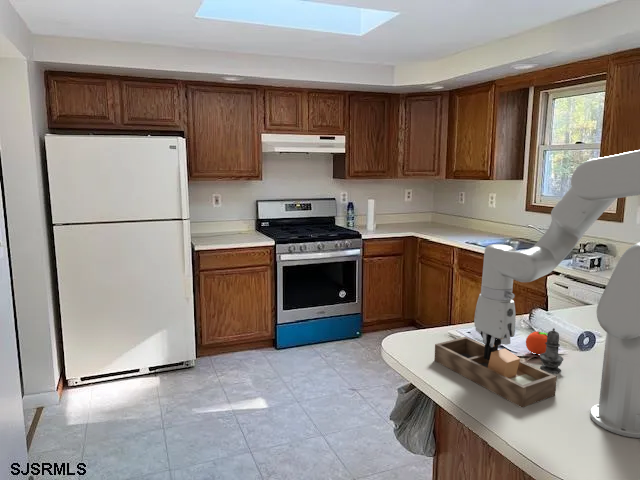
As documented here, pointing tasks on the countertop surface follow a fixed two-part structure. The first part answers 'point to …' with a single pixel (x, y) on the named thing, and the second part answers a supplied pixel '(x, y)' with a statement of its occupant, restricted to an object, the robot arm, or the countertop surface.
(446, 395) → the countertop surface
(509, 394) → the wooden divided tray
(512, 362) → the block
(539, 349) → the clementine
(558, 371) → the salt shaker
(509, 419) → the countertop surface
